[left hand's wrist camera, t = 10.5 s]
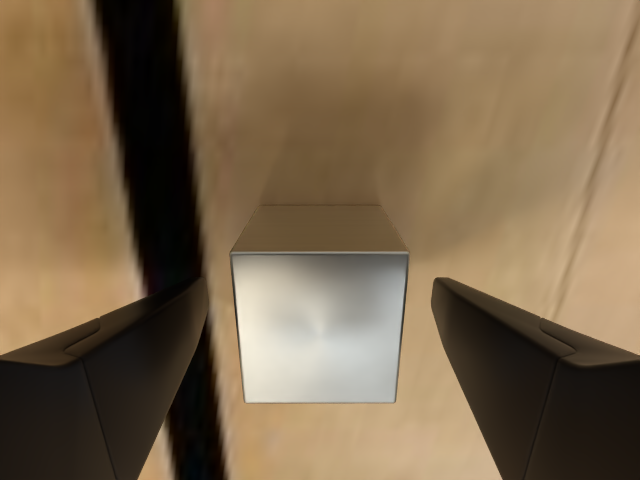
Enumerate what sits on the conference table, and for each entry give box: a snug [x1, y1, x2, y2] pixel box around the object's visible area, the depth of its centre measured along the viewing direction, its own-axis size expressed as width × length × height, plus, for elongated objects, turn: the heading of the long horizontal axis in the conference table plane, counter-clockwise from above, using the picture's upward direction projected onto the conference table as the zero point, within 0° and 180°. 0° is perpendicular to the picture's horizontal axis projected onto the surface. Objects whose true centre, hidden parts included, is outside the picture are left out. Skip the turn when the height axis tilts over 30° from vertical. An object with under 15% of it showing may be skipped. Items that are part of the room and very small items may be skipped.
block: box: [229, 205, 410, 403], centre depth 11 cm, size 4×4×4 cm
